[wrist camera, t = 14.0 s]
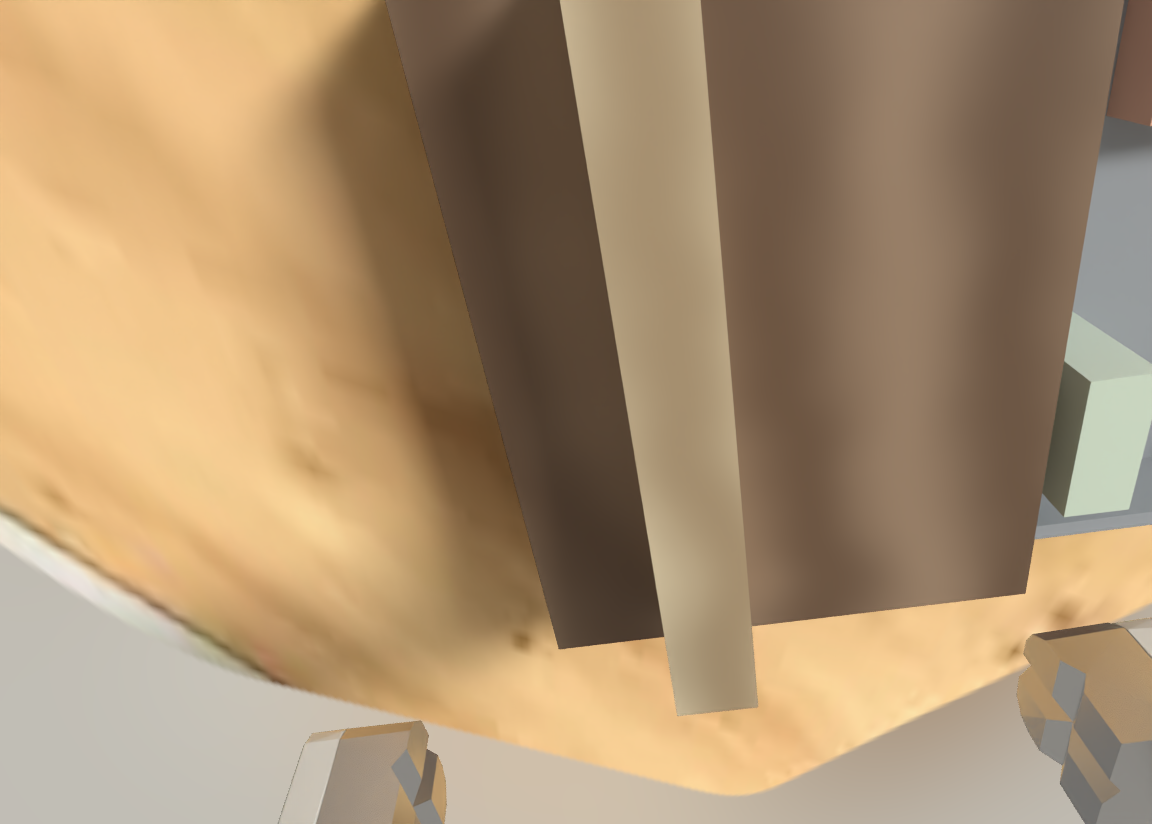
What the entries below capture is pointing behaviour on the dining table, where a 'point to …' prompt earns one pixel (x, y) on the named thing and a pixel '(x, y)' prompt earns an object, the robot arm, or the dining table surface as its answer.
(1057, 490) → the sage tile
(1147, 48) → the terracotta tile
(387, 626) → the dining table surface
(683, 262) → the bar
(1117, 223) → the box
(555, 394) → the walnut platform
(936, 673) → the dining table surface
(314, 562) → the dining table surface
